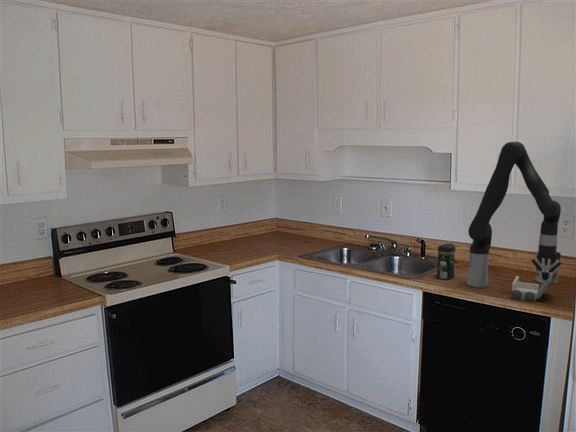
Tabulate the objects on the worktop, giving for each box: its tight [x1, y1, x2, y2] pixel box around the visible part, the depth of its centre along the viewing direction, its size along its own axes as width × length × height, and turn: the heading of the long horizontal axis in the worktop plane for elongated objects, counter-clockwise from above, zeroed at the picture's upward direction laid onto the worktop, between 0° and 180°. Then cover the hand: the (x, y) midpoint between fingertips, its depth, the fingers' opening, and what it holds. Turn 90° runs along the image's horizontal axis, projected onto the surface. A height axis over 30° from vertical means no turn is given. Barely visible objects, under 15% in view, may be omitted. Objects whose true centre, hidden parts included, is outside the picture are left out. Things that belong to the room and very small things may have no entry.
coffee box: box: [534, 251, 561, 284], centre depth 270 cm, size 9×6×16 cm
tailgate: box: [536, 273, 553, 300], centre depth 244 cm, size 1×16×10 cm, turn 150°
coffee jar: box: [436, 243, 456, 280], centre depth 279 cm, size 10×8×19 cm
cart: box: [510, 275, 540, 302], centre depth 248 cm, size 10×17×7 cm, turn 150°
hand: (544, 279), depth 243 cm, fingers closed
